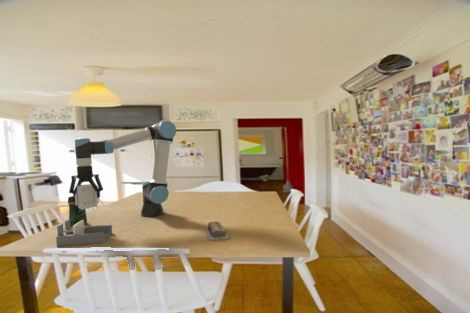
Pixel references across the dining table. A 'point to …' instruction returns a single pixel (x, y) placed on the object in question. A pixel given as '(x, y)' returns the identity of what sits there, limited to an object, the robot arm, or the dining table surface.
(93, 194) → the small box
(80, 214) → the coffee jar
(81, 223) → the grey open holder
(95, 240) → the grey slotted tray
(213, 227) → the packaged product
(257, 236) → the dining table surface
